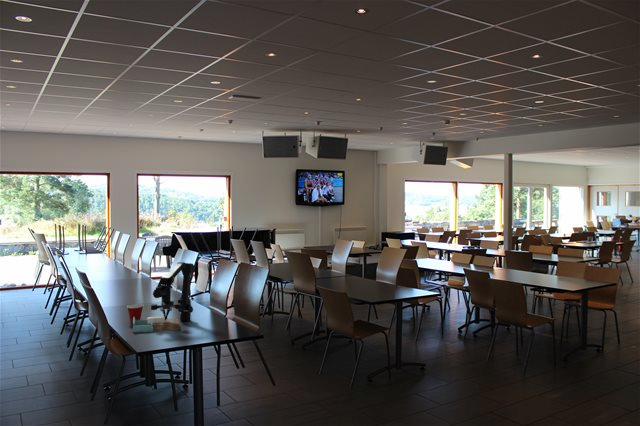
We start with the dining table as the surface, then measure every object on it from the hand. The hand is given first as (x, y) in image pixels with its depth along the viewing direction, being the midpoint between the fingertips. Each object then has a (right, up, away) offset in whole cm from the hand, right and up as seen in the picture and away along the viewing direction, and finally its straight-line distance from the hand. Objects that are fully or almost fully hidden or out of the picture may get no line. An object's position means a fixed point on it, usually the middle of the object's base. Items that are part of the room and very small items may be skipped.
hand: (165, 319), depth 344 cm
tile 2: (-4, -1, -1) cm, 4 cm away
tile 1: (-8, -1, -3) cm, 9 cm away
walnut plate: (0, -5, 0) cm, 5 cm away
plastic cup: (-24, -5, +11) cm, 27 cm away
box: (-13, -5, -4) cm, 15 cm away
